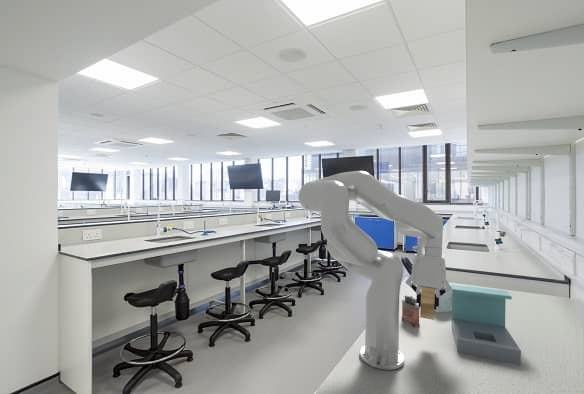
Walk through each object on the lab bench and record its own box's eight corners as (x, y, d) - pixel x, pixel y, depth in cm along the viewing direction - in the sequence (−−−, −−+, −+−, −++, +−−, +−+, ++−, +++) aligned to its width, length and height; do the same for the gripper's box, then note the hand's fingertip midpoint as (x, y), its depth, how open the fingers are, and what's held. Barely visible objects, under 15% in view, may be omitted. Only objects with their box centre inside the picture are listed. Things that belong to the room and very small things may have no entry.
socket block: (522, 364, 83) (523, 309, 83) (455, 351, 90) (455, 299, 90) (506, 337, 99) (506, 291, 99) (450, 327, 106) (450, 284, 106)
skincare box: (438, 313, 120) (438, 288, 120) (426, 307, 126) (426, 283, 126) (457, 310, 123) (458, 286, 123) (445, 305, 129) (446, 282, 129)
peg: (433, 319, 93) (434, 288, 93) (420, 317, 94) (421, 286, 94) (433, 315, 96) (434, 285, 96) (420, 313, 98) (421, 283, 98)
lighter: (399, 319, 113) (399, 293, 113) (406, 318, 114) (406, 293, 114) (414, 328, 106) (415, 300, 106) (422, 326, 107) (422, 299, 107)
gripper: (401, 250, 96) (399, 305, 95) (459, 256, 89) (457, 316, 88) (403, 247, 102) (400, 299, 102) (456, 253, 96) (454, 308, 95)
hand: (427, 306), depth 95 cm, fingers closed on peg, 4 cm apart
